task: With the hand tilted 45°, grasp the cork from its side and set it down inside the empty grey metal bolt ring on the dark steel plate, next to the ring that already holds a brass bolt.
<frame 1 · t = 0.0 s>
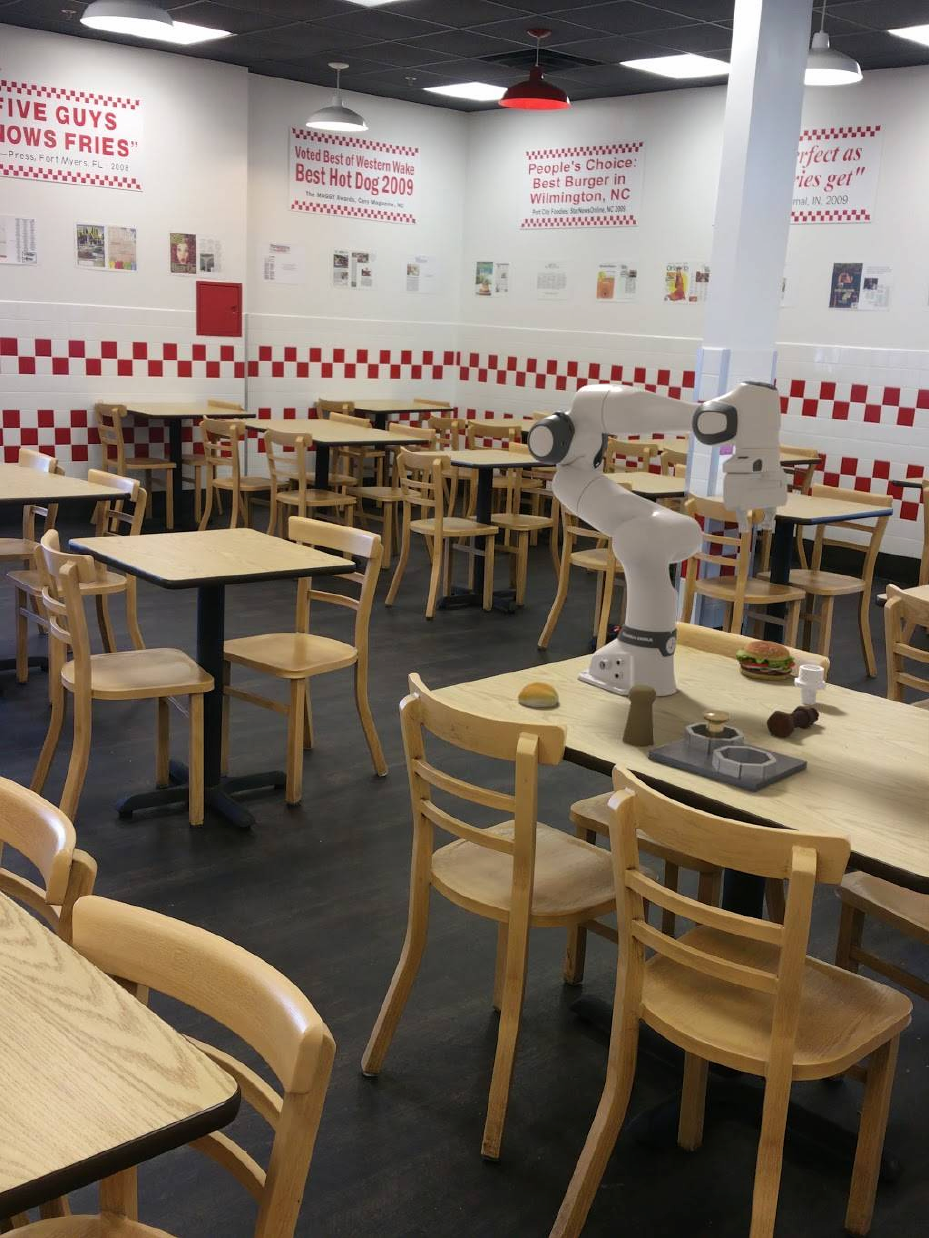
hand: (755, 531, 243), 39 cm above the table, tool pointing down, fingers open, 8 cm apart
bolt: (795, 731, 242), on the table
bolt plate: (727, 763, 219), on the table
cork: (638, 742, 229), on the table
food: (761, 674, 285), on the table
bread roll: (537, 703, 251), on the table
pipe fitting: (807, 703, 263), on the table
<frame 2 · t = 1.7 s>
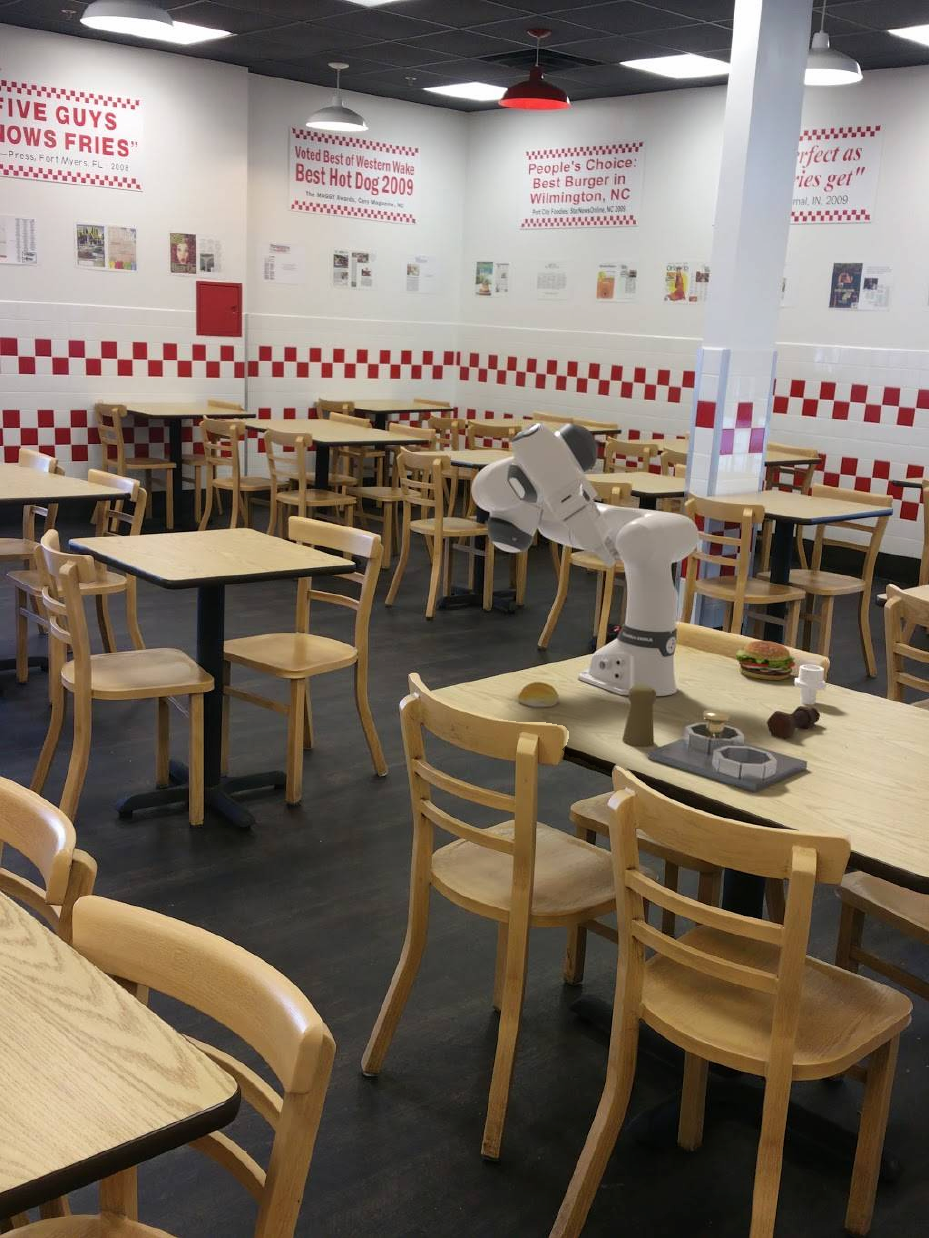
hand: (614, 561, 223), 34 cm above the table, tool tilted 40°, fingers open, 8 cm apart
nothing on the table moved.
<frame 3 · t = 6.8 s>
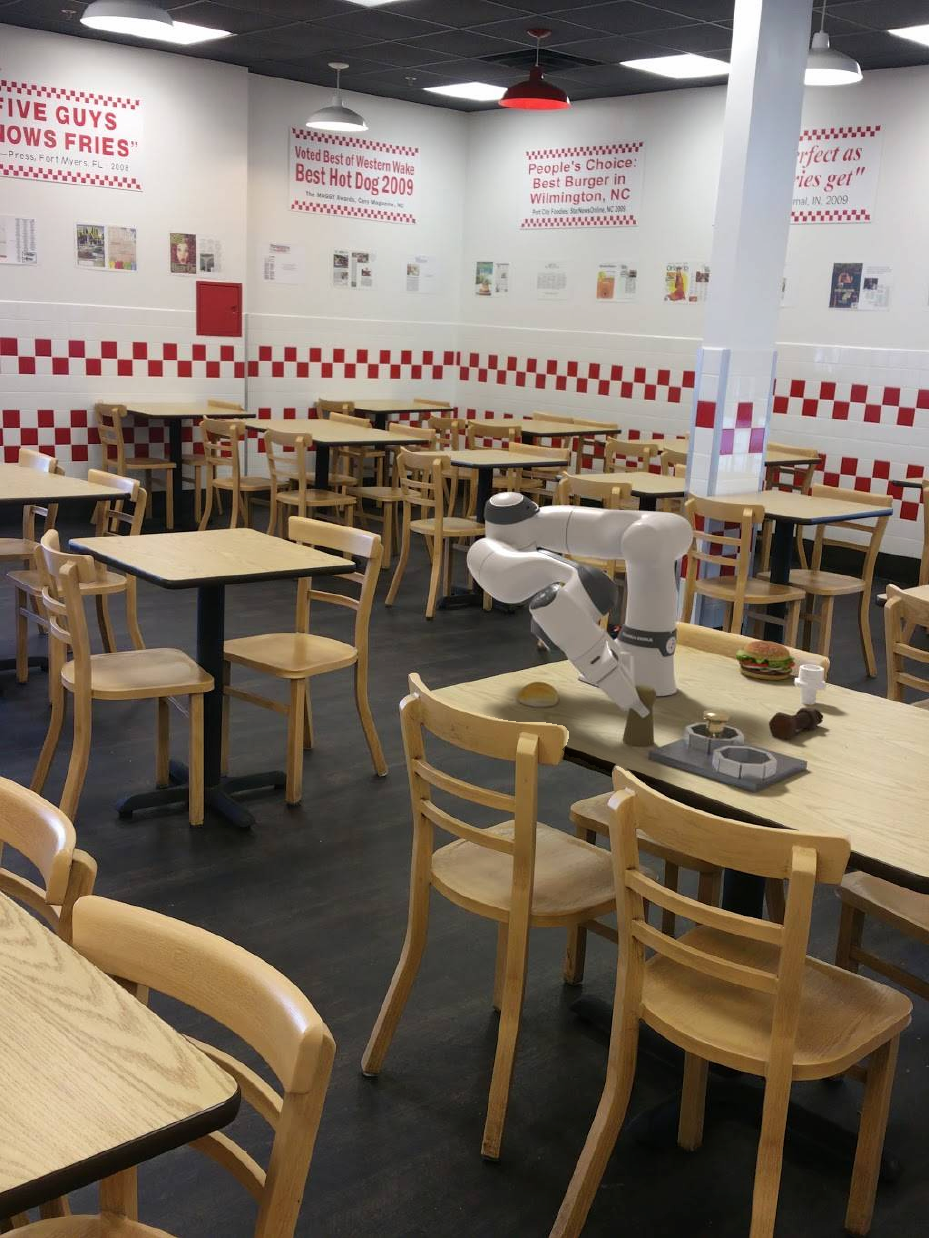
hand: (644, 709, 227), 6 cm above the table, tool tilted 45°, fingers closed on cork, 5 cm apart
cork: (638, 742, 229), on the table, touching gripper
when the fingers open (9 cm above the table, at t = 13.2 s): cork stays where it is, resting on bolt plate.
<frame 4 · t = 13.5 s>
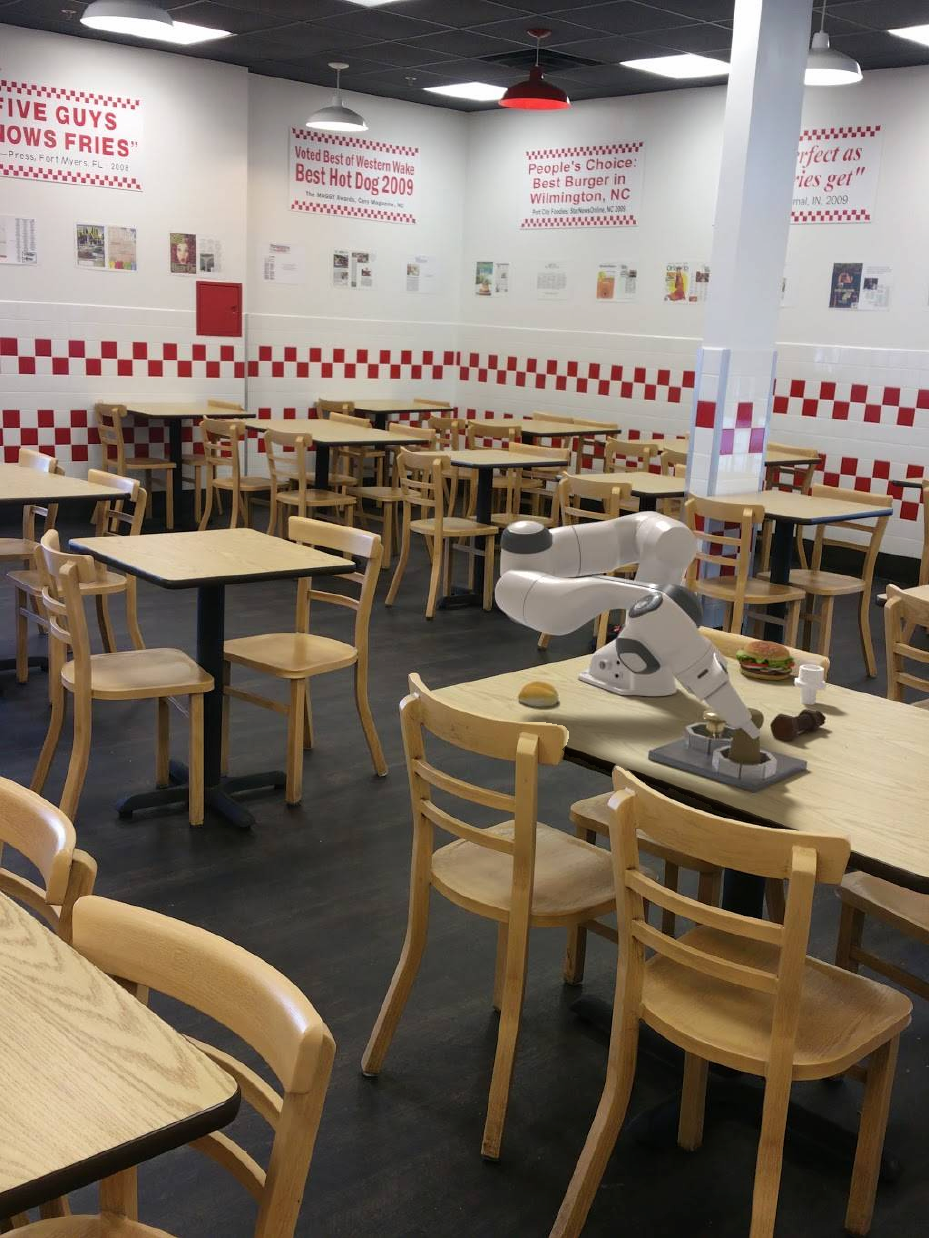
hand: (751, 727, 210), 9 cm above the table, tool tilted 45°, fingers open, 8 cm apart
bolt: (800, 735, 240), on the table
cork: (742, 769, 212), point 1 cm above the table, touching bolt plate
everything else where it was.
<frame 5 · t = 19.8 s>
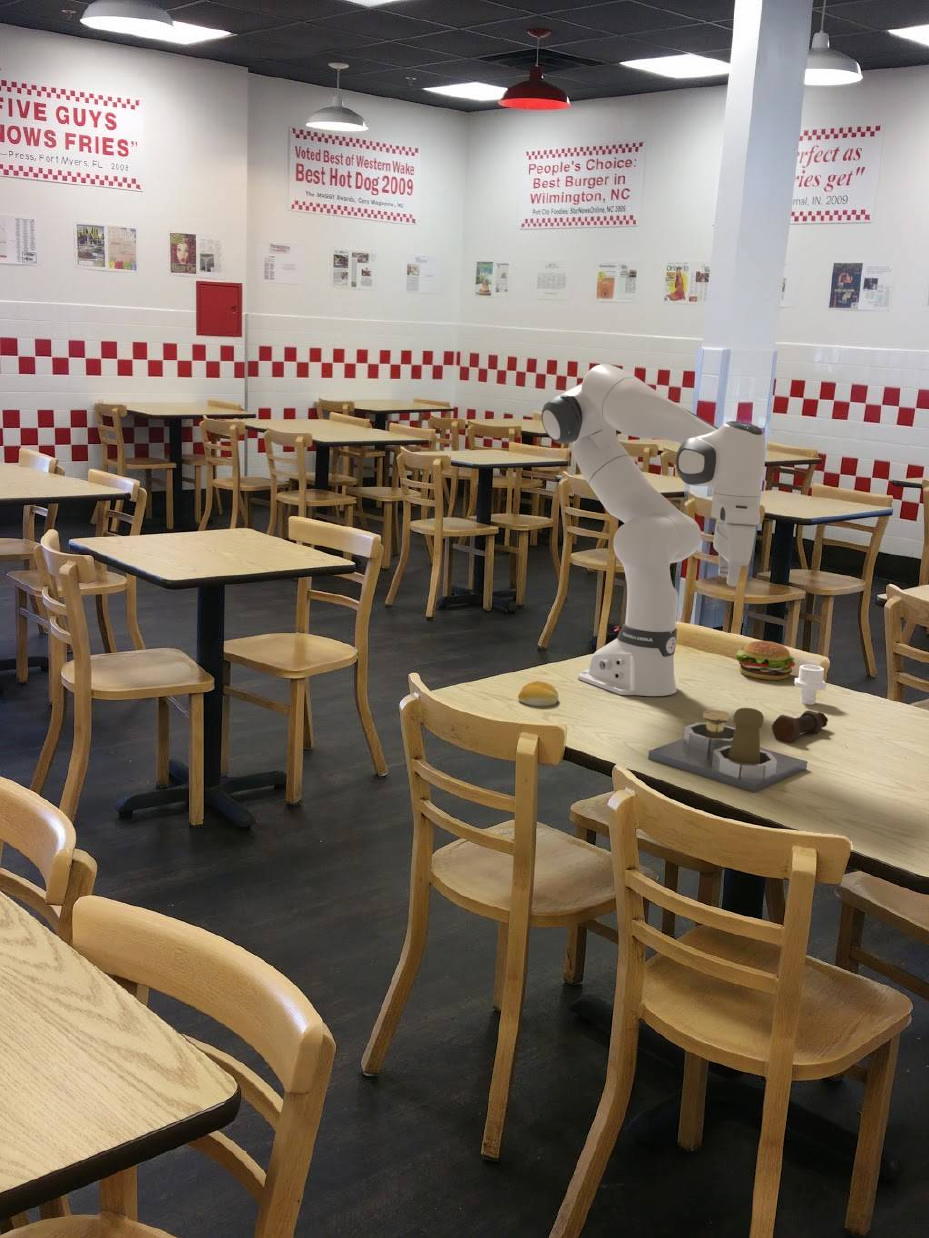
hand: (727, 581, 228), 31 cm above the table, tool pointing down, fingers open, 8 cm apart
at the end: cork 0.1 cm from the target spot on the bolt plate, point 1.3 cm above the bolt plate's base; cork tilted 0°; the gripper is holding nothing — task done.
